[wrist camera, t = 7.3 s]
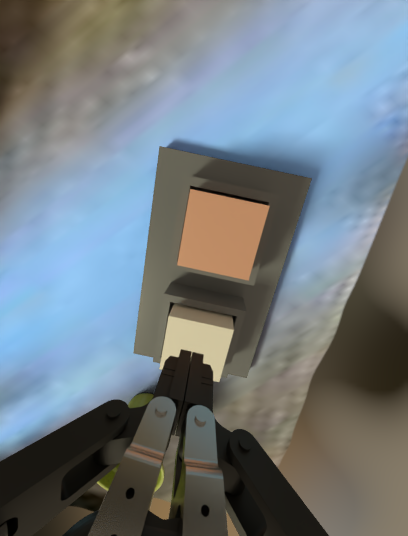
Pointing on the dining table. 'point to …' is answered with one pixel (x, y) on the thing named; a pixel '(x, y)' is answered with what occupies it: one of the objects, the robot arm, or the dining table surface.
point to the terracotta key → (221, 234)
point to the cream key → (198, 335)
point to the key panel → (206, 283)
